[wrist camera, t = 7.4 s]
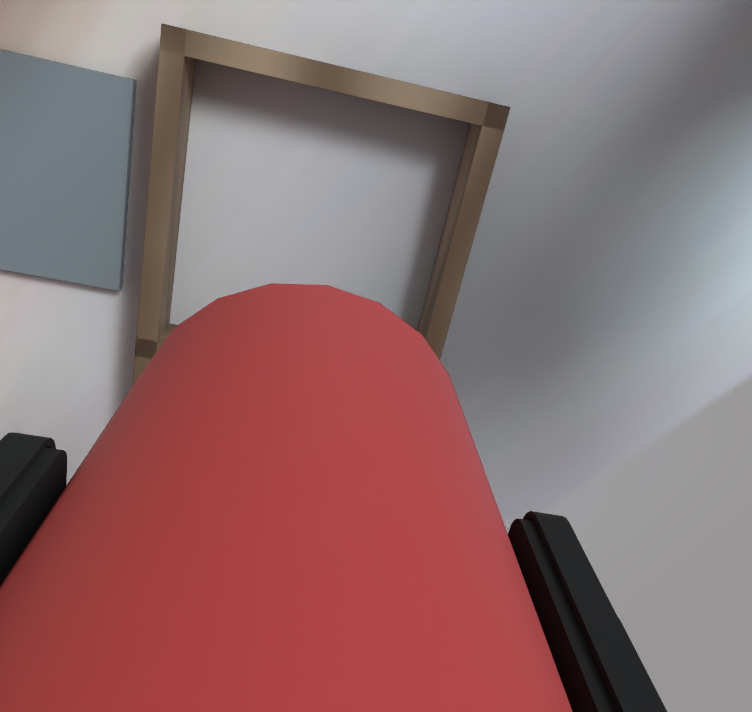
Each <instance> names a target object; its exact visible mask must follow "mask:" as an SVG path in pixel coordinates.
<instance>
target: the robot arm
mask: <svg viewBox="0 0 752 712" xmlns="http://www.w3.org/2000/svg"><path fill="white" fill-rule="evenodd" d="M66 477H67V454H66V452H65V451H64V450H58V449H56V447H55V442H54V440H53V439H52V438H47V437H40V436H33V435H27V434H20V433H14V432H12V433H8V434H7V435H6V436H4V437H3V438H2V439H1V441H0V585H1V584H2V582H3V581H4V579H5V578H6V576H7V575H8V573H9V572H10V570H11V569H12V567H13V566H14V564H15V563H16V561H17V560H18V558H19V557H20V555H21V554H22V552H23V551H24V549H25V548H26V546H27V545H28V543H29V542H30V540H31V539H32V537H33V536H34V534H35V533H36V531H37V530H38V528H39V527H40V525H41V524H42V522H43V521H44V519H45V518H46V516H47V515H48V513H49V512H50V510H51V509H52V507H53V506H54V504H55V503H56V501H57V499H58V498H59V496H60V495H61V493H62V492H63V490H64V489H65V487H66ZM508 537H509V540H510V542H511V545H512V548H513V550H514V553H515V556H516V559H517V561H518V564H519V567H520V570H521V572H522V575H523V578H524V581H525V583H526V586H527V589H528V591H529V594H530V597H531V600H532V602H533V605H534V608H535V611H536V613H537V616H538V619H539V622H540V624H541V627H542V630H543V632H544V635H545V638H546V641H547V643H548V646H549V649H550V652H551V654H552V657H553V660H554V663H555V665H556V668H557V671H558V673H559V676H560V679H561V682H562V684H563V687H564V690H565V693H566V695H567V698H568V701H569V703H570V706H571V709H572V712H667V710H666V709H665V707H664V705H663V703H662V701H661V699H660V697H659V695H658V693H657V691H656V689H655V687H654V685H653V683H652V681H651V679H650V678H649V675H648V674H647V672H646V670H645V668H644V666H643V664H642V662H641V660H640V658H639V656H638V654H637V652H636V650H635V648H634V646H633V644H632V642H631V640H630V639H629V637H628V635H627V633H626V631H625V629H624V627H623V625H622V623H621V621H620V620H619V618H618V617H617V615H616V613H615V611H614V609H613V607H612V605H611V603H610V601H609V599H608V597H607V595H606V593H605V592H604V590H603V588H602V586H601V584H600V582H599V580H598V578H597V576H596V574H595V572H594V570H593V568H592V566H591V564H590V562H589V560H588V558H587V557H586V554H585V553H584V551H583V549H582V547H581V545H580V543H579V541H578V539H577V537H576V535H575V533H574V531H573V529H572V527H571V525H570V523H569V521H568V520H567V519H566V518H565V517H563V516H558V515H552V514H545V513H539V512H532V511H530V512H527V514H526V515H525V516H524V518H523V519H515V520H514V521H513V523H512V525H511V527H510V530H509V532H508Z"/></svg>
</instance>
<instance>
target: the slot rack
mask: <svg viewBox="0 0 752 712" xmlns="http://www.w3.org/2000/svg"><path fill="white" fill-rule="evenodd" d="M196 59H199V60H204V61H208V62H212V63H217V64H221V65H225V66H229V67H234V68H238V69H242V70H246V71H251V72H255V73H259V74H263V75H268V76H272V77H276V78H280V79H285V80H289V81H293V82H298V83H302V84H306V85H310V86H315V87H319V88H323V89H327V90H332V91H336V92H340V93H344V94H349V95H353V96H357V97H361V98H366V99H370V100H374V101H379V102H383V103H387V104H391V105H396V106H400V107H404V108H408V109H413V110H417V111H421V112H425V113H430V114H434V115H438V116H442V117H447V118H451V119H455V120H460V121H464V122H468V123H471V125H470V129H469V133H468V136H467V140H466V144H465V148H464V152H463V156H462V160H461V163H460V167H459V171H458V175H457V179H456V183H455V187H454V190H453V194H452V198H451V202H450V206H449V210H448V213H447V217H446V221H445V225H444V229H443V233H442V237H441V240H440V244H439V248H438V252H437V256H436V260H435V264H434V267H433V271H432V275H431V279H430V283H429V287H428V291H427V294H426V298H425V302H424V306H423V310H422V314H421V318H420V321H419V325H418V329H417V331H418V332H419V333H420V334H422V335H423V337H424V338H425V340H426V341H427V343H428V344H429V346H430V347H431V349H432V350H433V352H434V353H435V355H436V356H437V358H438V359H439V360H440V357H441V354H442V350H443V347H444V343H445V339H446V336H447V332H448V329H449V325H450V322H451V318H452V314H453V311H454V307H455V304H456V300H457V296H458V293H459V289H460V286H461V282H462V279H463V275H464V271H465V268H466V264H467V261H468V257H469V253H470V250H471V246H472V243H473V239H474V236H475V232H476V228H477V225H478V221H479V218H480V214H481V210H482V207H483V203H484V200H485V196H486V193H487V189H488V185H489V182H490V178H491V175H492V171H493V167H494V164H495V160H496V157H497V153H498V150H499V146H500V142H501V139H502V135H503V132H504V128H505V124H506V121H507V117H508V114H509V110H510V107H507V106H503V105H498V104H494V103H490V102H486V101H482V100H478V99H473V98H469V97H465V96H461V95H457V94H453V93H448V92H444V91H440V90H436V89H432V88H428V87H424V86H419V85H415V84H411V83H407V82H403V81H399V80H394V79H390V78H386V77H382V76H378V75H374V74H369V73H365V72H361V71H357V70H353V69H349V68H345V67H340V66H336V65H332V64H328V63H324V62H320V61H315V60H311V59H307V58H303V57H299V56H295V55H290V54H286V53H282V52H278V51H274V50H270V49H265V48H261V47H257V46H253V45H249V44H245V43H241V42H236V41H232V40H228V39H224V38H220V37H216V36H211V35H207V34H203V33H199V32H195V31H191V30H186V29H182V28H178V27H174V26H170V25H166V24H162V25H161V38H160V50H159V62H158V75H157V87H156V100H155V112H154V125H153V137H152V149H151V162H150V174H149V187H148V199H147V212H146V224H145V236H144V249H143V261H142V274H141V286H140V299H139V311H138V323H137V336H136V348H135V361H134V373H133V385H134V384H135V382H136V381H137V379H138V378H139V376H140V375H141V373H142V372H143V370H144V369H145V367H146V366H147V364H148V363H149V362H150V360H151V359H152V358H153V356H154V355H155V353H156V352H157V351H158V349H159V348H160V347H161V345H162V344H163V342H164V341H165V340H166V338H167V337H168V336H169V334H170V333H171V331H172V330H173V329H174V328H175V327H176V326H178V325H174V324H169V320H170V310H171V300H172V290H173V280H174V270H175V261H176V251H177V241H178V231H179V221H180V211H181V201H182V191H183V181H184V171H185V161H186V151H187V141H188V131H189V121H190V111H191V102H192V92H193V82H194V72H195V62H196ZM133 385H132V387H133Z"/></svg>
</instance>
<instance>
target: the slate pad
mask: <svg viewBox="0 0 752 712" xmlns="http://www.w3.org/2000/svg"><path fill="white" fill-rule="evenodd" d="M135 93H136V80H133V79H129V78H124V77H120V76H115V75H111V74H107V73H102V72H98V71H93V70H89V69H85V68H80V67H76V66H71V65H67V64H63V63H58V62H54V61H49V60H45V59H40V58H36V57H32V56H27V55H23V54H18V53H14V52H10V51H5V50H1V49H0V269H1V270H7V271H12V272H18V273H23V274H29V275H34V276H40V277H45V278H51V279H56V280H62V281H68V282H73V283H79V284H84V285H90V286H95V287H101V288H106V289H112V290H117V291H119V290H120V289H121V288H122V282H123V267H124V253H125V238H126V224H127V209H128V195H129V180H130V166H131V151H132V137H133V122H134V108H135Z"/></svg>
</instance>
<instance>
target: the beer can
mask: <svg viewBox="0 0 752 712" xmlns="http://www.w3.org/2000/svg"><path fill="white" fill-rule="evenodd" d="M0 712H572V709H571V706H570V703H569V701H568V698H567V695H566V693H565V690H564V687H563V684H562V682H561V679H560V676H559V673H558V671H557V668H556V665H555V663H554V660H553V657H552V654H551V652H550V649H549V646H548V643H547V641H546V638H545V635H544V632H543V630H542V627H541V624H540V622H539V619H538V616H537V613H536V611H535V608H534V605H533V602H532V600H531V597H530V594H529V591H528V589H527V586H526V583H525V581H524V578H523V575H522V572H521V570H520V567H519V564H518V561H517V559H516V556H515V553H514V550H513V548H512V545H511V542H510V540H509V537H508V534H507V531H506V529H505V526H504V523H503V520H502V518H501V515H500V512H499V509H498V507H497V504H496V501H495V499H494V496H493V493H492V490H491V488H490V485H489V482H488V479H487V477H486V474H485V471H484V469H483V466H482V463H481V460H480V458H479V455H478V452H477V449H476V447H475V444H474V441H473V438H472V436H471V433H470V430H469V428H468V425H467V422H466V419H465V417H464V414H463V411H462V408H461V406H460V403H459V400H458V397H457V395H456V392H455V389H454V387H453V384H452V381H451V378H450V376H449V374H448V372H447V371H446V369H445V368H444V366H443V365H442V363H441V362H440V360H439V359H438V358H437V356H436V355H435V353H434V352H433V350H432V349H431V347H430V346H429V344H428V343H427V341H426V340H425V338H424V337H423V335H422V334H420V333H419V332H418V331H416V330H415V329H414V328H412V327H411V326H410V325H408V324H407V323H406V322H404V321H403V320H402V319H400V318H399V317H398V316H396V315H395V314H394V313H392V312H391V311H390V310H388V309H387V308H386V307H384V306H383V305H382V304H380V303H378V302H375V301H372V300H369V299H366V298H363V297H360V296H357V295H354V294H352V293H349V292H346V291H343V290H340V289H337V288H334V287H331V286H328V285H302V284H268V285H264V286H261V287H257V288H254V289H250V290H246V291H243V292H239V293H236V294H232V295H228V296H225V297H221V298H218V299H216V300H215V301H213V302H212V303H210V304H209V305H207V306H206V307H204V308H203V309H201V310H200V311H198V312H197V313H195V314H194V315H193V316H191V317H190V318H188V319H187V320H185V321H184V322H182V323H181V324H179V325H178V326H176V327H175V328H174V329H173V330H172V331H171V333H170V334H169V336H168V337H167V338H166V340H165V341H164V342H163V344H162V345H161V347H160V348H159V349H158V351H157V352H156V353H155V355H154V356H153V358H152V359H151V360H150V362H149V363H148V364H147V366H146V367H145V369H144V370H143V372H142V373H141V375H140V376H139V378H138V379H137V381H136V382H135V384H134V385H133V387H132V388H131V390H130V391H129V393H128V394H127V396H126V397H125V399H124V400H123V402H122V403H121V405H120V406H119V408H118V409H117V411H116V412H115V414H114V415H113V417H112V418H111V420H110V421H109V423H108V424H107V426H106V427H105V429H104V430H103V432H102V433H101V435H100V436H99V438H98V439H97V441H96V442H95V444H94V445H93V447H92V448H91V450H90V451H89V453H88V454H87V456H86V457H85V459H84V460H83V462H82V463H81V465H80V466H79V468H78V469H77V471H76V472H75V474H74V475H73V477H72V478H71V480H70V481H69V483H68V484H67V486H66V487H65V489H64V490H63V492H62V493H61V495H60V496H59V498H58V499H57V501H56V503H55V504H54V506H53V507H52V509H51V510H50V512H49V513H48V515H47V516H46V518H45V519H44V521H43V522H42V524H41V525H40V527H39V528H38V530H37V531H36V533H35V534H34V536H33V537H32V539H31V540H30V542H29V543H28V545H27V546H26V548H25V549H24V551H23V552H22V554H21V555H20V557H19V558H18V560H17V561H16V563H15V564H14V566H13V567H12V569H11V570H10V572H9V573H8V575H7V576H6V578H5V579H4V581H3V582H2V584H1V585H0Z"/></svg>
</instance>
